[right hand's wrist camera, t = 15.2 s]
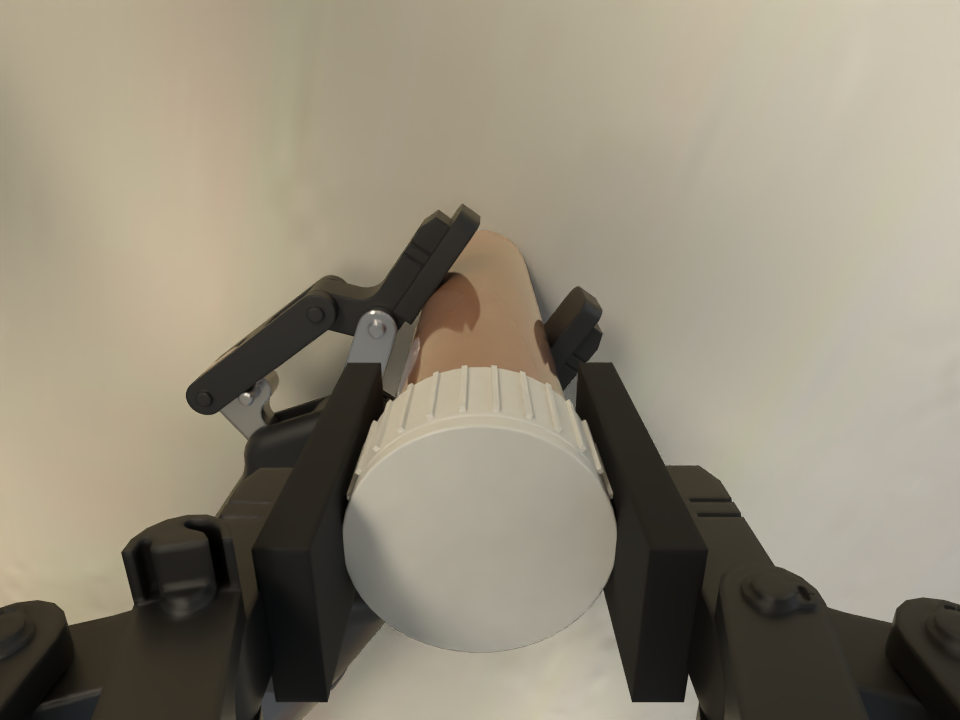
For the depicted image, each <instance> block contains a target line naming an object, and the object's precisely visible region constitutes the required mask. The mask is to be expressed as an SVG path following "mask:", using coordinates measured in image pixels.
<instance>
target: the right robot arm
mask: <svg viewBox="0 0 960 720" xmlns="http://www.w3.org/2000/svg"><path fill="white" fill-rule="evenodd" d="M383 412H384V402H383V386H382V369H381V363H347V365H346V367H345V369H344V371H343V372H342V374H341V376H340V378H339V380H338V382H337V384H336V386H335V388H334V390H333V392H332V394H331V396H330V398H329V400H328V402H327V403H326V405H325V407H324V409H323V411H322V413H321V415H320V417H319V419H318V421H317V423H316V425H315V427H314V429H313V431H312V433H311V435H310V436H309V438H308V440H307V442H306V444H305V446H304V448H303V450H302V452H301V454H300V456H299V458H298V460H297V462H296V464H295V466H294V467H293V468H259V469H258V470H257V471H255V472H254V473H253V474H251V475H250V476H249V477H247V478H246V479H244V480H243V481H242V482H240V483H239V485H238V486H237V488H236V490H235V491H234V493H233V494H232V496H231V497H230V499H229V501H228V504H226V505H225V507H224V508H223V510H222V512H221V513H220V515H219V518H217V517H213V516H209V515H185V516H181V517H177V518H172V519H168V520H165V521H163V522H160V523H158V524H156V525H153V526H151V527H149V528H147V529H145V530H144V531H142V532H141V533H140V534H138V535H137V536H135V537H134V538H133V539H131V540H130V542H129V543H128V544H127V546H126V547H125V548H124V550H123V551H122V552H121V553H122V557H123V561H124V565H125V569H126V573H127V577H128V581H129V585H130V589H131V593H132V597H133V601H134V607H133V609H132V610H131V611H127V612H124V613H121V614H117V615H114V616H109V617H105V618H101V619H96V620H92V621H87V622H83V623H79V624H74V625H70V626H68V623H67V620H66V617H65V614H64V611H63V610H62V609H61V608H59V607H58V606H57V605H56V604H55V603H51V602H45V601H39V600H36V601H27V602H19V603H14V604H11V605H8V606H5V607H1V608H0V720H264V718H263V711H262V706H261V703H262V700H263V697H264V694H265V692H266V689H267V686H268V683H269V681H270V678H271V676H272V682H273V688H274V694H275V700H276V702H328V698H329V694H330V690H331V686H332V682H333V679H334V675H335V671H336V667H337V663H338V659H339V655H340V651H341V647H342V643H343V639H344V635H345V632H346V628H347V624H348V620H349V616H350V612H351V608H352V604H353V600H354V596H355V592H356V588H355V586H354V585H353V583H352V580H351V578H350V576H349V574H348V571H347V568H346V564H345V555H344V544H343V532H342V525H343V520H344V515H345V511H346V508H347V505H348V502H349V500H347V491H348V488H349V486H350V483H351V480H352V477H353V474H354V471H355V468H356V465H357V462H358V459H359V456H360V453H361V451H362V448H363V445H364V443H365V441H366V438H367V435H368V433H369V430H370V427H371V424H372V422H373V420H375V421H377V422H378V420H379V418H380V416H381V415H382V414H383ZM576 413H577V414H578V416H579V417H580V419H581V421H583V420H586V421H587V423H588V426H589V429H590V432H591V435H592V438H593V440H594V443H596V445H597V448H598V451H599V454H600V457H601V460H602V463H603V465H604V468H605V471H606V474H607V477H608V480H609V483H610V486H611V489H612V492H613V499H610V500H611V503H612V506H613V510H614V514H615V518H616V522H617V540H616V551H615V560H614V566H613V569H612V572H611V574H610V577H609V579H608V582H607V584H606V585H605V587H604V589H603V590H604V594H605V598H606V602H607V606H608V609H609V613H610V617H611V621H612V625H613V629H614V633H615V637H616V641H617V645H618V649H619V653H620V656H621V660H622V664H623V668H624V672H625V676H626V680H627V684H628V688H629V692H630V696H631V700H632V702H684V698H685V692H686V686H687V680H688V673H689V676H690V679H691V681H692V684H693V687H694V689H695V692H696V695H697V698H698V700H699V706H698V711H697V717H696V720H960V605H959V604H955V603H952V602H949V601H945V600H939V599H931V598H917V599H911V600H906V601H905V602H904V603H902V604H901V605H900V606H899V607H898V608H897V609H896V612H895V615H894V619H893V622H892V623H889V622H884V621H880V620H875V619H871V618H866V617H862V616H858V615H853V614H849V613H845V612H841V611H838V610H835V609H831V608H828V607H827V605H826V603H825V602H824V600H823V599H822V597H821V595H820V594H819V592H818V591H817V590H816V589H815V588H814V587H813V586H812V585H810V584H809V583H808V582H807V581H805V580H804V579H803V578H802V577H800V576H798V575H796V574H794V573H791V572H789V571H787V570H785V569H783V568H780V567H776V566H774V564H773V562H772V561H771V559H770V558H769V556H768V555H767V553H766V552H765V550H764V548H763V547H762V545H761V544H760V542H759V541H758V539H757V538H756V536H755V534H754V533H753V531H752V530H751V528H750V527H749V525H748V524H747V522H746V520H745V519H744V517H741V513H740V511H739V509H738V508H737V506H736V505H735V503H734V502H732V500H731V497H730V495H729V494H728V492H727V491H726V489H725V488H724V486H723V485H722V483H721V481H720V480H718V479H717V478H715V477H714V476H713V475H711V474H710V473H709V472H707V471H706V470H704V469H703V468H702V467H700V466H665V464H664V462H663V460H662V459H661V457H660V455H659V453H658V451H657V449H656V447H655V445H654V443H653V441H652V439H651V437H650V435H649V433H648V431H647V429H646V427H645V426H644V424H643V422H642V420H641V418H640V416H639V414H638V412H637V410H636V408H635V406H634V404H633V402H632V400H631V398H630V396H629V395H628V393H627V391H626V389H625V387H624V385H623V383H622V381H621V379H620V377H619V375H618V373H617V371H616V369H615V367H614V365H613V363H578V380H577V396H576Z"/></svg>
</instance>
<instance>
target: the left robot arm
mask: <svg viewBox="0 0 960 720" xmlns="http://www.w3.org/2000/svg"><path fill="white" fill-rule="evenodd" d="M479 225H480V216H479V215H478V214H476V213H475V212H473V211H472V210H471V209H469V208H468V207H466V206H465V205H464V204H461V206H460V207H459V208H458V210H457V211H456V213H455V214H454V215H453V217H452V218H450V217H448V216H447V215H445V214H444V213H442V212H441V211H440V210H438V211H436V212H435V213H433V214H432V215H430V216H429V217H427V218H426V219H425V220H424V221H423V223H422V224H421V226H420V227H419V229H418V230H417V232H416V233H415V235H414V236H413V238H412V239H411V241H410V242H409V244H408V245H407V247H406V248H405V250H404V251H403V253H402V254H401V256H400V257H399V259H398V260H397V262H396V263H395V265H394V266H393V268H392V269H391V271H390V272H389V274H388V275H387V277H386V278H385V279H384V281H383V282H381V283H380V284H379V285H377V286H374V287H369V288H364V287H359V286H355V285H351V284H347V283H346V282H345V281H344V280H343V279H342V278H340V277H338V276H333V275H329V276H325V277H323V278H321V279H320V280H319V281H317V282H316V283H315V284H313V285H312V286H311V287H310V288H308V289H307V290H306V291H304V292H303V293H302V294H301V295H299V296H298V297H297V298H295V299H294V300H293V301H291V302H290V303H289V304H288V305H286V306H285V307H284V308H282V309H281V310H280V311H279V312H277V313H276V314H275V315H273V316H272V317H271V318H269V319H268V320H267V321H266V322H264V323H263V324H262V325H260V326H259V327H258V328H257V329H255V330H254V331H253V332H251V333H250V334H249V335H247V336H246V337H245V338H244V339H242V340H241V341H240V342H238V343H237V344H236V345H235V346H233V347H232V348H231V349H229V350H228V351H227V352H225V353H224V354H223V355H222V356H220V357H219V358H218V359H217V360H216V361H215V362H214V363H213V364H212V365H211V366H210V367H209V368H208V369H207V370H206V371H205V372H204V373H203V374H201V375H200V376H199V377H198V378H197V379H196V380H195V381H194V382H193V383H192V384H191V385H190V386H189V387H188V389H187V392H186V399H187V402H188V404H189V405H190V407H191V408H192V409H193V410H195V411H196V412H198V413H200V414H204V415H212V414H215V413H217V412H219V411H220V412H221V413H222V414H223V415H224V416H225V417H226V418H227V419H228V420H229V421H230V422H231V423H232V424H233V425H234V426H235V427H236V428H237V429H238V430H239V431H240V432H241V433H242V434H243V435H244V436H245V438H246V439H247V440H248V442H247V444H246V447H245V452H244V457H245V468H244V473H243V475H242V477H241V478H240V480H239V481H238V483H237V484H236V486H235V487H234V489H233V490H232V492H231V493H230V495H229V496H228V498H227V499H226V501H225V502H224V504H223V505H222V507H221V509H220V510H219V512H218V513H217V515H216V516H215V517H217V518H219V515H220V513H221V512H222V510H223V508H224V507H225V505H226V504H228V501H229V499H230V497H231V496H232V494H233V493H234V491H235V490H236V488H237V486H238V485H239V483H240V482H242V481H243V480H244V479H246V478H247V477H249V476H250V475H251V474H253V473H254V472H255V471H257V470H258V469H259V468H293V467H294V466H295V464H296V462H297V460H298V458H299V456H300V454H301V452H302V450H303V448H304V446H305V444H306V442H307V440H308V438H309V436H310V435H311V433H312V431H313V429H314V427H315V425H316V423H317V421H318V419H319V417H320V415H321V413H322V411H323V409H324V407H325V405H326V403H327V402H328V400H329V398H330V396H331V395H329V396H326V397H323V398H320V399H316V400H313V401H310V402H307V403H304V404H301V405H298V406H294V407H291V408H288V409H285V410H282V411H279V412H276V413H274V412H273V411H272V410H271V407H270V404H269V400H270V397H271V396H272V394H273V393H274V391H275V390H276V389H277V387H278V384H279V378H278V375H277V373H276V371H275V369H276V368H277V367H279V366H280V365H281V364H283V363H284V362H285V361H287V360H288V359H289V358H291V357H292V356H293V355H295V354H296V353H297V352H299V351H300V350H301V349H303V348H304V347H305V346H307V345H308V344H310V343H311V342H312V341H314V340H315V339H316V338H318V337H319V336H320V335H322V334H323V333H324V332H326V331H327V330H331V331H335V332H339V333H343V334H347V335H351V336H354V339H353V342H352V345H351V348H350V352H349V355H348V358H347V362H346V365H347V363H381V369H382V379H383V376H384V373H385V370H386V367H387V364H388V361H389V358H390V354H391V351H392V348H393V345H394V342H395V339H396V336H397V333H398V330H399V329H400V328H401V326H402V325H403V323H404V322H405V321H406V322H408V323H409V324H412V323H413V321H414V320H415V318H416V317H417V315H418V314H419V313H420V311H421V310H422V308H423V307H424V305H425V303H426V302H427V301H428V299H429V298H430V297H431V296H432V294H433V293H434V291H435V290H436V288H437V287H438V286H439V284H440V283H441V281H442V280H443V278H444V277H445V276H446V274H447V273H448V271H449V270H450V268H451V267H452V266H453V264H454V263H455V261H456V260H457V258H458V257H459V256H460V254H461V253H462V251H463V250H464V248H465V247H466V246H467V244H468V243H469V241H470V240H471V238H472V237H473V235H474V234H475V232H476V231H477V229H478V227H479ZM601 315H602V308H601V307H600V305H599V303H598V302H597V300H596V298H594V297H593V296H592V295H590V294H589V293H588V292H586V291H585V290H583V289H582V288H581V287H579V286H577V287H575V288H574V289H573V290H572V291H571V292H570V293H569V294H568V295H567V297H566V298H565V299H564V301H563V302H562V303H561V304H560V306H559V307H558V308H557V309H556V311H555V312H554V313H553V315H552V316H551V317H550V318H549V320H548V321H547V322H546V323H545V325H544V328H545V332H546V335H547V339H548V342H549V345H550V349H551V352H552V356H553V359H554V363H555V366H556V370H557V373H558V376H559V380H560V383H561V387H562V390H564V389H565V388H566V387H567V385H568V384H569V383H570V382H571V381H572V379H573V378H574V377H575V376H576V375H577V373H578V363H586V362H587V361H588V360H589V359H590V358H591V357H592V355H593V354H594V353H595V352H596V351H597V349H598V347H599V344H600V340H601V337H602V334H603V333H602V331H601V329H600V328H599V326H598V324H597V323H598V321H599V319H600V317H601ZM346 365H345V367H346ZM344 369H345V368H344ZM389 400H391V401H394V400H395V397H393V396H392V395H390V394H389V393H387V392H385V391H384V390H383V402H384V410H385V407H386V404H387V402H388V401H389ZM384 623H385V621H384V620H382V619H381V618H380V617H379V616H378V615H377V614H376V613H375V612H374V611H373V610H371V608H370V607H369V606H368V605H367V604H366V602H365V601H364V600H363V599H362V598H361V596H360V594H359V593H358V591H357V590H356V592H355V596H354V600H353V604H352V608H351V612H350V616H349V620H348V624H347V628H346V632H345V635H344V639H343V643H342V647H341V651H340V655H339V659H338V663H337V667H336V671H335V675H334V679H333V682H332V686H331V690H332V689H333V688H334V687H335V686H336V684H337V683H338V682H339V680H340V679H341V678H342V676H343V675H344V673H345V671H346V669H347V667H348V666H349V665H350V663H351V662H352V661H353V660H354V659H355V657H356V656H357V655H358V654H359V653H360V651H361V650H362V649H363V648H364V647H365V645H366V644H367V643H368V642H369V641H370V639H371V638H372V637H373V636H374V635H375V634H376V632H377V631H378V630H379V629H380V628H381V626H382V625H383V624H384ZM317 703H318V702H276V700H275V694H274V688H273V682H272V676H271V678H270V681H269V683H268V686H267V689H266V692H265V694H264V697H263V700H262V703H261V706H262V711H263V718H264V720H302V719H303V718H304V717H305V716H306V715H307V714H308V713H309V712H310V711H311V709H312V708H313V707H314V706H315V705H316V704H317Z"/></svg>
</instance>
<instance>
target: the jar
mask: <svg viewBox="0 0 960 720" xmlns="http://www.w3.org/2000/svg"><path fill="white" fill-rule="evenodd" d="M464 365H467V366H468V367H491V365H495V366H497V368H500V369H505V370H509V371H514V372H518V373H520V371H523V372H525V373H526V376H529V377H531V378H533V379H535V380H537V381H539V382H541V383H543V384H546V383H549V384H550V385H551V387H552V390H554V391H555V392H556V393H558V394H559V395H560V396H561V397H562V398H563V399H564V400H565V397H564V394H563V390H562V387H561V383H560V380H559V376H558V373H557V370H556V366H555V363H554V359H553V356H552V352H551V349H550V345H549V342H548V339H547V335H546V332H545V328H544V325H543V321H542V318H541V314H540V311H539V308H538V304H537V301H536V297H535V294H534V290H533V287H532V283H531V280H530V277H529V273H528V270H527V266H526V263H525V260H524V258H523V256H522V254H521V252H520V251H519V250H518V248H517V247H516V246H515V245H514V244H513V243H512V242H511V241H510V240H508V239H507V238H505V237H504V236H502V235H499V234H497V233H494V232H490V231H481V230H477V231H476V232H475V234H474V235H473V237H472V238H471V240H470V241H469V243H468V244H467V246H466V247H465V248H464V250H463V251H462V253H461V254H460V256H459V257H458V258H457V260H456V261H455V263H454V264H453V266H452V267H451V268H450V270H449V271H448V273H447V274H446V276H445V277H444V278H443V280H442V281H441V283H440V284H439V286H438V287H437V288H436V290H435V291H434V293H433V294H432V296H431V297H430V298H429V299H428V301H427V302H426V303H425V305H424V307H423V308H422V310H421V311H420V314H419V318H418V321H417V324H416V328H415V331H414V335H413V338H412V342H411V345H410V348H409V352H408V355H407V359H406V362H405V366H404V369H403V372H402V376H401V379H400V383H399V386H398V390H397V393H396V396H395V399H396V398H397V397H398V396H399V395H400V394H402V393H403V392H404V391H406V390H407V386H408V385H409V384H411V383H413V384H414V385H415V384H417V383H418V382H420V381H422V380H424V379H426V378H429V377H431V376H433V373H434V372H437V371H439V373H442V372H446V371H450V370H454V369H460V368H461V367H462V366H464Z"/></svg>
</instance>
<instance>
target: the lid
mask: <svg viewBox="0 0 960 720" xmlns="http://www.w3.org/2000/svg"><path fill="white" fill-rule="evenodd" d="M610 499H613V492H612V489H611V486H610V483H609V480H608V477H607V474H606V471H605V468H604V465H603V463H602V460H601V457H600V454H599V451H598V448H597V445H596V443H594V440H593V438H592V435H591V432H590V429H589V426H588V423H587V421H586V420H583V421H581V419H580V417H579V416H578V414H577V413H576V412H575V410H574V407H573V403H572V402H571V401H570V400H569V399H568V400H567V401H566V400H564V399H563V398H562V397H561V396H560V395H559V394H558V393H556V392H555V391H554V390H552V387H551V385H550V384H549V383H546V384H543V383H541V382H539V381H537V380H535V379H533V378H531V377H529V376H526V373H525V372H523V371H520V373H518V372H514V371H509V370H505V369H500V368H497V366H495V365H491V367H468V366H467V365H464V366H462V367H461V368H460V369H454V370H450V371H446V372H442V373H439V371H437V372H434V373H433V376H431V377H429V378H426V379H424V380H422V381H420V382H418V383H417V384H415V385H414V384H413V383H411V384H409V385H408V386H407V390H406V391H404V392H403V393H402V394H400V395H399V396H398V397H397V398H396V399H395V400H394V401H391V400H389V401H388V402H387V404H386V407H385V410H384V412H383V414H382V415H381V416H380V418H379V420H378V422H377V421H375V420H373V422H372V424H371V427H370V430H369V433H368V435H367V438H366V441H365V443H364V445H363V448H362V451H361V453H360V456H359V459H358V462H357V465H356V468H355V471H354V474H353V477H352V480H351V483H350V486H349V488H348V491H347V500H349V502H348V505H347V508H346V511H345V515H344V520H343V525H342V532H343V544H344V555H345V564H346V568H347V571H348V574H349V576H350V578H351V580H352V583H353V585H354V586H355V588H356V590H357V591H358V593H359V594H360V596H361V598H362V599H363V600H364V601H365V602H366V604H367V605H368V606H369V607H370V608H371V610H373V611H374V612H375V613H376V614H377V615H378V616H379V617H380V618H381V619H382V620H384V621H385V622H386V623H388V624H389V625H390V626H392V627H393V628H395V629H396V630H398V631H400V632H402V633H403V634H405V635H407V636H409V637H411V638H413V639H416V640H418V641H420V642H423V643H425V644H429V645H432V646H435V647H439V648H443V649H448V650H453V651H461V652H472V653H486V652H498V651H507V650H511V649H516V648H521V647H524V646H528V645H531V644H534V643H537V642H539V641H542V640H544V639H546V638H548V637H551V636H553V635H554V634H556V633H558V632H560V631H561V630H563V629H565V628H566V627H568V626H569V625H570V624H572V623H573V622H574V621H576V620H577V619H578V618H579V617H581V616H582V615H583V614H584V613H585V612H586V611H587V610H588V609H589V608H590V607H591V605H592V604H593V603H594V602H595V600H596V599H597V598H598V597H599V595H600V594H601V592H602V590H603V589H604V587H605V585H606V584H607V582H608V579H609V577H610V574H611V572H612V569H613V566H614V560H615V551H616V540H617V522H616V518H615V514H614V510H613V506H612V503H611V500H610Z"/></svg>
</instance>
